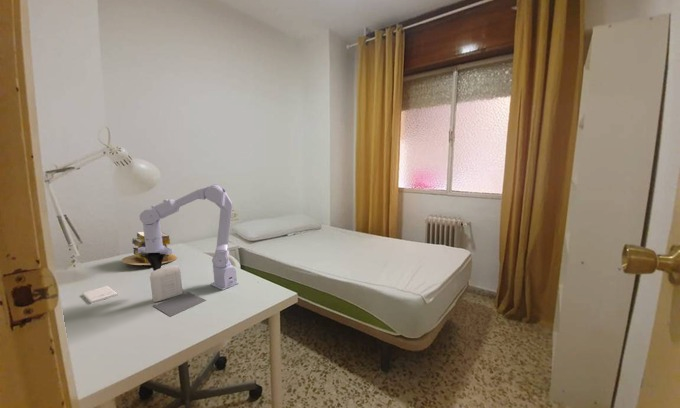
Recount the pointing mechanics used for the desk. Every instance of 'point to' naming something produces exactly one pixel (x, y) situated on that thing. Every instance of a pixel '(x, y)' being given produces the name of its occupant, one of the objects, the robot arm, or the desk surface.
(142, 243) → the sandwich platter
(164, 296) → the photo printer
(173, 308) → the rubber mat
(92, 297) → the external hard drive
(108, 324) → the desk surface
